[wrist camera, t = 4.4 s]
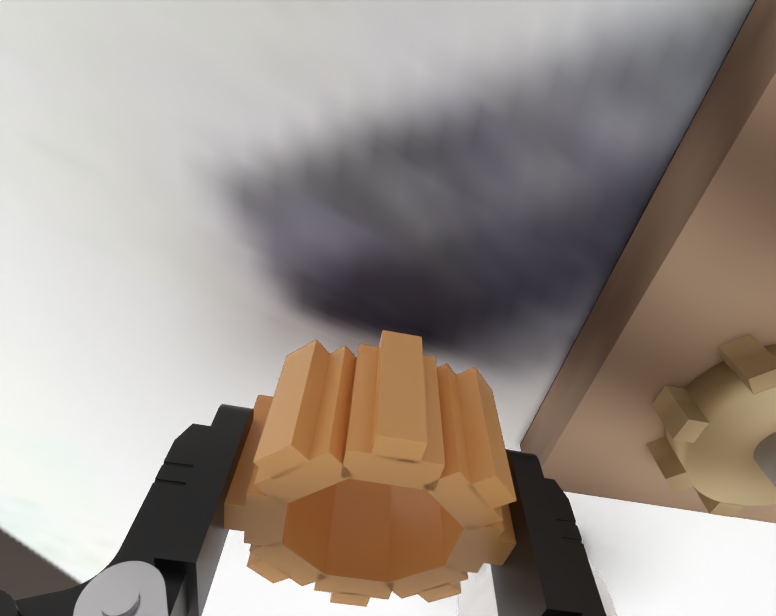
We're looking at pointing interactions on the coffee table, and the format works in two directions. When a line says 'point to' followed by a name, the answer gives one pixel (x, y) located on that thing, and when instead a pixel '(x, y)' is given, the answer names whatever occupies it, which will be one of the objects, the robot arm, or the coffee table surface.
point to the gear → (374, 475)
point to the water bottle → (481, 603)
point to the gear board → (686, 321)
